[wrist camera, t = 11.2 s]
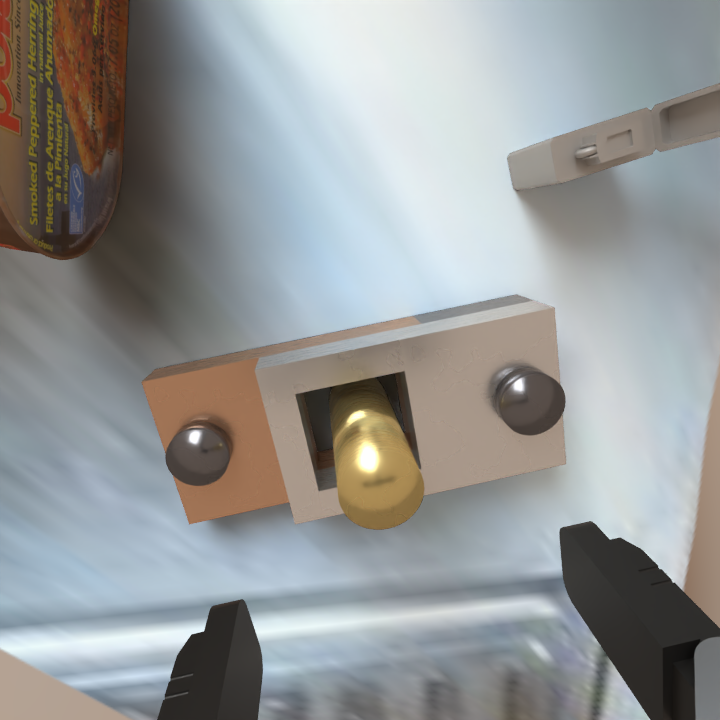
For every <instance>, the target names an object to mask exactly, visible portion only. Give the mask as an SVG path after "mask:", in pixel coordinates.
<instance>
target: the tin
mask: <svg viewBox="0 0 720 720" xmlns="http://www.w3.org/2000/svg"><path fill="white" fill-rule="evenodd" d="M128 12H129V0H0V246H1V247H5V248H9V249H16V250H22V251H28V252H35V253H41V254H43V255H45V256H48V257H50V258H54V259H58V260H68V259H73V258H76V257H79V256H81V255H83V254H84V253H86V252H87V251H89V250H90V249H91V248H92V247H93V246H94V245H95V243H96V242H97V241H98V240H99V238H100V237H101V236H102V234H103V233H104V231H105V229H106V227H107V225H108V223H109V221H110V219H111V217H112V215H113V212H114V209H115V206H116V202H117V198H118V194H119V189H120V183H121V175H122V165H123V142H124V113H125V89H126V60H127V41H128Z"/></svg>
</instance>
